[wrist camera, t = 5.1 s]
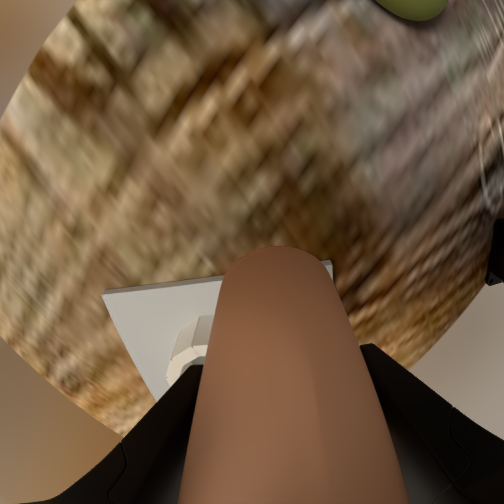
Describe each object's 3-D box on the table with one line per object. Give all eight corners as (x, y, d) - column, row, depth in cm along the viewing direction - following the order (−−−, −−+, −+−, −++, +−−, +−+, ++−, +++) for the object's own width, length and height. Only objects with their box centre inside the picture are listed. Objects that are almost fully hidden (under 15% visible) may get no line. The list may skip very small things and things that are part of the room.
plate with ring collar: (329, 259, 21) (344, 290, 17) (332, 386, 27) (339, 420, 23) (105, 289, 23) (82, 319, 19) (160, 399, 28) (150, 430, 24)
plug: (332, 238, 10) (469, 553, 1) (334, 335, 12) (390, 573, 3) (208, 254, 11) (112, 578, 1) (231, 347, 12) (206, 589, 3)
